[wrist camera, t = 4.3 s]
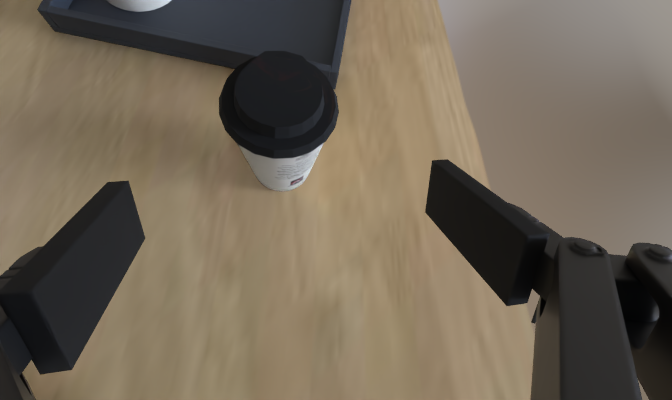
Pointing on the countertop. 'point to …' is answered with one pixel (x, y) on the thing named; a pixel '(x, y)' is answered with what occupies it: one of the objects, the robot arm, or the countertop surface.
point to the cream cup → (138, 4)
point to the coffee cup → (279, 116)
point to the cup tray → (214, 28)
